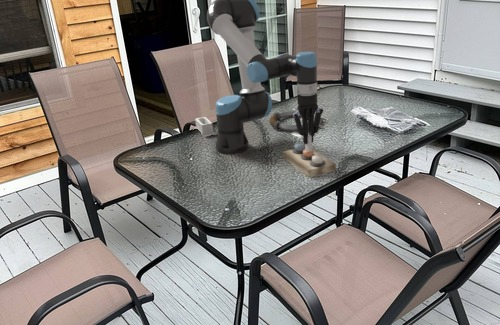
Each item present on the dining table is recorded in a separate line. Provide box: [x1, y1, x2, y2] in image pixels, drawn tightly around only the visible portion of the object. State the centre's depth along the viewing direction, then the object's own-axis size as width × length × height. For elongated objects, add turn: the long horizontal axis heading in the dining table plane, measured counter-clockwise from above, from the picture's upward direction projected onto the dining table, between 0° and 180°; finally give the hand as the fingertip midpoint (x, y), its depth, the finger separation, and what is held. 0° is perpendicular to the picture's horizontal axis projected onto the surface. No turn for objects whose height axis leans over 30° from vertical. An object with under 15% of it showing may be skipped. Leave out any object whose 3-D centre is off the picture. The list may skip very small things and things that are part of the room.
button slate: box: [294, 142, 305, 151], centre depth 188 cm, size 4×4×2 cm
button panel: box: [282, 147, 337, 178], centre depth 182 cm, size 12×22×4 cm, turn 22°
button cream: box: [312, 154, 324, 164], centre depth 175 cm, size 4×4×2 cm
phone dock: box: [194, 116, 214, 135], centre depth 227 cm, size 5×12×6 cm, turn 22°
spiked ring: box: [268, 110, 328, 132], centre depth 230 cm, size 33×4×30 cm
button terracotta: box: [303, 148, 315, 158], centre depth 181 cm, size 4×4×2 cm
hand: (308, 150), depth 181 cm, fingers closed
